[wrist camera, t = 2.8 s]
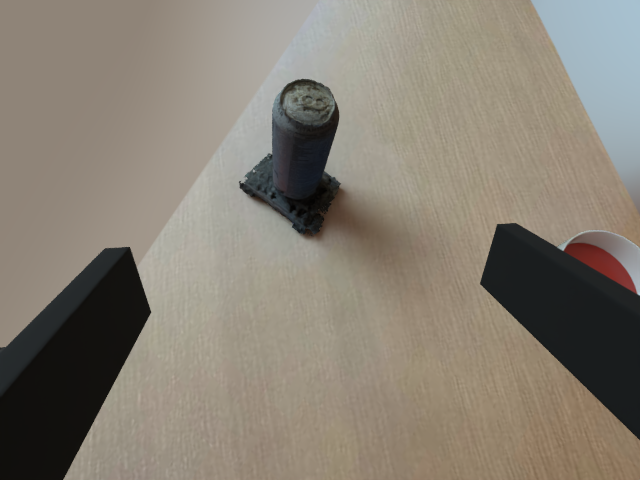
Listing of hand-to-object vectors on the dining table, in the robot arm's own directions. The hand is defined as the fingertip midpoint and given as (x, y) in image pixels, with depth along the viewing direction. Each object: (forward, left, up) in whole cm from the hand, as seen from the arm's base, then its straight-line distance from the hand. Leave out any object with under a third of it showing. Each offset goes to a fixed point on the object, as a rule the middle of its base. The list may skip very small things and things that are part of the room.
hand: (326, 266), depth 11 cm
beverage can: (-6, +10, -17) cm, 20 cm away
